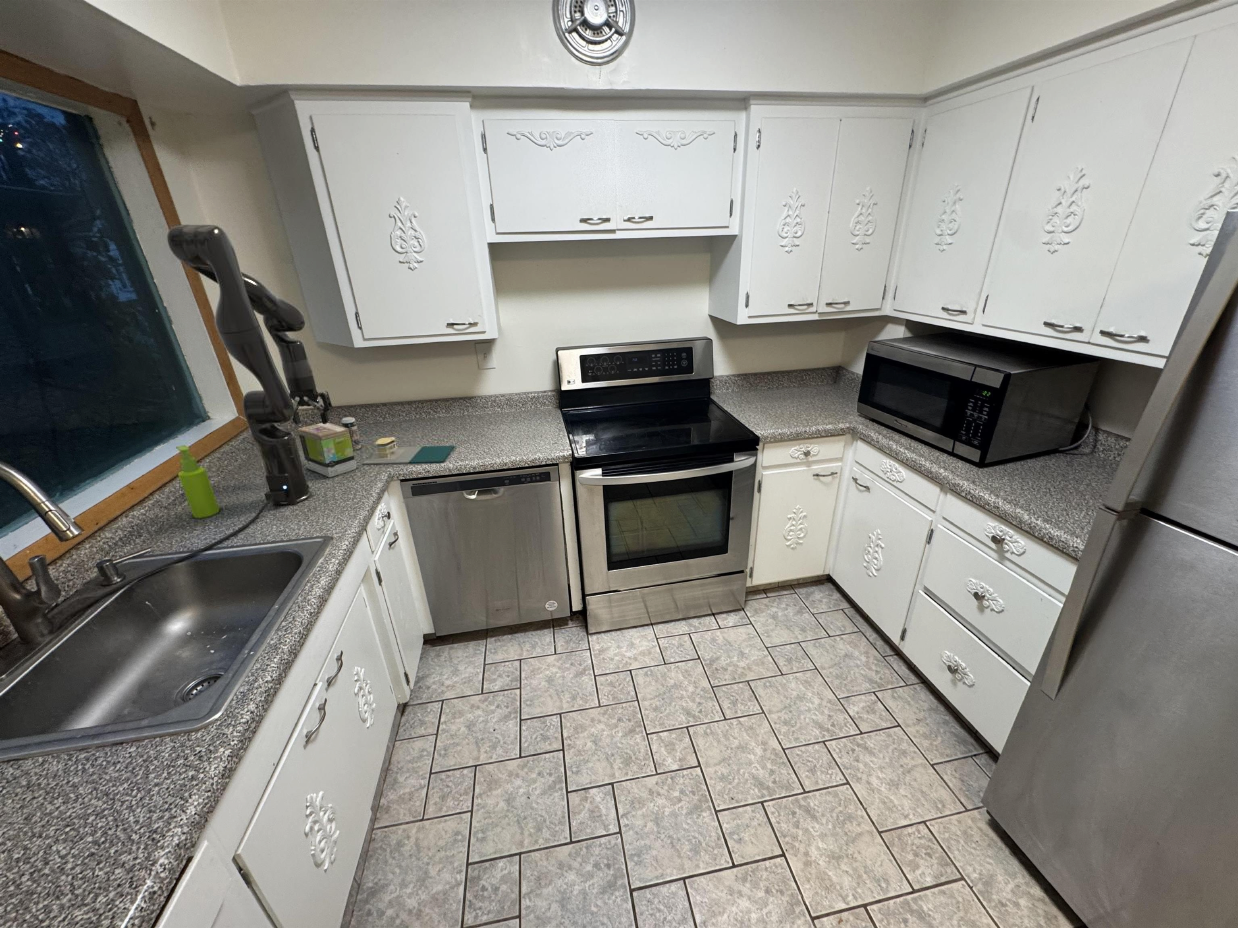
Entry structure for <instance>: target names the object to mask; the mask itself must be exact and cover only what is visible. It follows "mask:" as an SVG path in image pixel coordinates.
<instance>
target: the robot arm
mask: <svg viewBox="0 0 1238 928" xmlns="http://www.w3.org/2000/svg"><path fill="white" fill-rule="evenodd" d="M166 235H167V236H166V240H167V245H168V248H169V250H170V252H171V253H172V255H174V257H175V258H176V259H177V260H178V261H180V262H181V263H183V264H184V265H185V266H187V267H189V268H190V269H192V270H194V271H196V272H197V273H199V274H201V275H202V276H204V277H206V278H207V279H209V280H210V281H213V282H214V283H215V284H217V285H218V289H219V295H218V300H217V306H216V308H215V312H214V313H215V314H214V326H215V329H216V331H217V333H218V336H219V338H220V341H221V343H222V345H223V347H224V349H225V350H226V352H227V353H228V354H229V356H231V357H232V358H233V359H234V360H236V361H237V362H238V363H239V364H240V365H241V366H243V367H244V368H245V370H247V371H248V372H249V373H250V374H252V375H253V376H254V377H255V379H256V380H257V381H258V382H259V384H260V386H261V389H262V390H261V389H260V390H250V391H247V392H246V393H245V394H244V396H243V398H242V410H243V413H244V414H243V415H244V417H245V420H246V423H247V425H248V426H247V427H248V428H249V431H250V434H251V436H252V439H253V440H254V442H255V443H256V444H257V447H258V451H259V453H260V457H261V461H262V463H263V467H264V471H265V474H266V475H265V476H264V477H265V481H266V483H267V487H268V490H267V491H266V492H265V493H263V495H264V497H265V501H266V502H265V504H263V506H262V507H261V508H260V509H259V510H258V512H257V513H256V514H255V515H254V516H253V518H251V519H250V520H249V521H248V522H246V523H245V524H244V525H242V526H240V527H239V528H237V529H236V530H234V531H232V532H231V533H229V534H227V535H226V536H224V537H222V538H220V539H218V540H215V541H214V542H212V543H210V544H208V545H206V546H204V547H202V548H199V549H198V550H194V551H193V552H190V553H188V554H186V555H184V556H181V557H179V558H176V559H173V560H171V561H170V562H168V563H165V564H162V565H160V566H158V567H156V568H154V569H151V570H149V571H146V572H144V573H142V574H140V575H138V576H135V577H133V578H131V579H128V580H127V581H125V582H123V583H120V584H119V585H117V586H115V587H112V588H111V589H109V590H107V591H105V592H103V593H101V594H99V595H98V596H96V597H94V598H92V599H91V600H89V601H87V602H86V603H84V604H82V605H80V606H79V607H76V608H75V609H73V610H70V611H69V612H67V613H65V614H64V615H62V616H61V617H60V618H59V619H58V620H57V622H56V624H54V626H53V628H52V631H51V633H56V632H58V631H59V628H60V627H61V626H62V624H63V623H64V622H65V620H67V619H68V618H69V617H71V616H72V615H75V614H76V613H78V612H80V611H82V610H83V609H84V610H85V609H86V608H87V607H90V605H92V604H94V603H96V602H98V601H99V600H101V599H103V598H105V597H106V596H108V595H110V594H112V593H114V592H117V591H118V590H119V589H122V588H123V587H126V586H128V585H130V584H132V583H134V582H136V581H139V580H141V579H142V578H145V577H147V576H149V575H151V574H153V573H156V572H159V571H161V570H164V569H165V568H167V567H169V566H171V565H172V566H173V565H174V564H177V563H178V562H181V561H184V560H185V559H188V558H190V557H193V556H195V555H197V554H199V553H202V552H204V551H206V550H209V549H210V548H212V547H214V546H217V545H218V544H220V543H222V542H224V541H225V540H228V539H229V538H231V537H233V536H234V535H236V534H238V533H240V532H241V531H242V530H244V529H245V528H247V527H248V526H250V525H251V524H252V523H254V522H255V521H256V520H257V519H258V518H259V517H260V515H261V514H262V513H263V512H264V510H265V509H266V508H267V507H268V505H270V504H271V503H272V504H273V505H274V506H281V505H284V506H285V505H296V504H297V503H300V502H302V501H304V500H306V499H308V498H310V496H311V491H310V490H311V488H310V485H309V483H308V481H307V478H306V474H305V470H304V466H303V462H302V459H301V455H300V450H299V448H298V444H297V440H296V437H295V434H294V433H293V432H292V431H290V430H287V429H284V428H282V427H280V426H278V425H277V424H283V423H289V422H290V421H292V422H293V423H294V424H295V425H297V426H298V425H300V424H301V423H302V421H301V420H302V419H301V417H300V413H299V411H298V410H299V409H300V407H301V408H303V407H312V408H314V409H316V410H317V411H318V412H319V416H320V420H321V423H322V424H326V423H329V421H330V418H329V415H328V412H330V411H331V410H332V409H333V404H332V401H331V398H330V395H329V391H327V390H325V391H322V392H321V391H320V392H318V390H317V384H316V380H315V377H314V373H313V369H312V365H311V363H310V361H309V357H308V352H307V349H306V346H305V343H304V341H303V340H301V339H299V338H298V339H297V338H293V337H291V336H290V335H289V334H288V333H297V332H300V331H302V330H304V329H305V326H306V318H305V316H304V313H303V312H302V311H301V310H300V309H299V308H297V306H295V305H293V304H292V303H291V302H288V301H287V300H285V299H283V298H281V297H279V296H277V295H276V294H275V293H274V292H272V290H271V289H269V287H267V286H266V285H265V284H264V283H262V282H261V281H259V280H258V278H257V279H256V278H255V277H253V276H251V275H249V274H248V273H245V272H243V271H242V270H241V266H240V264H239V259H238V256H237V252H236V250H235V247H234V244H233V242H232V240H231V238H230V237H229V234H228V233H227V232H226V231H225V230H224V228H222V227H220V226H219V225H215V224H179V225H174V226H172V227H170V229H168V232H167V234H166ZM256 313H257V314H258V315H260V316H262V322H263V326H264V327H265V329H266V331H267V332H268V334H269V335H270V337H271V339H272V341H273V342H274V344H275V345H276V348H277V350H278V353H279V357H280V360H281V366H282V372H283V375H284V378H285V383H286V385H285V383H284V380H283V378H282V377H281V375H280V372H279V371H278V368H277V366H276V363H275V362H274V359H273V357H272V354H271V351H270V349H269V346H268V343H267V340H266V337H265V335H264V332H263V330H262V329H263V328H262V326H261V325H260V322H259V319H258V317H257V315H256Z"/></svg>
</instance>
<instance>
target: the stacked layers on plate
mask: <svg viewBox="0 0 1238 928" xmlns="http://www.w3.org/2000/svg"><path fill="white" fill-rule="evenodd" d="M397 442H398V441H397V440H396V437H394V436H391V437H381V438H379V439H377V441H376V442H375V443H374V444H375V445H376V446H375V449H376V451H377V450H378V451H377V454H376V455H375V456H374V457H372V458H371V459H370V460H382V459H396V458H397V457H398V456H399V455H400V454H401V453H402V452H403V451H404V450H395V449H396V448H398V447H399V446H397Z"/></svg>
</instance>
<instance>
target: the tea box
mask: <svg viewBox="0 0 1238 928" xmlns="http://www.w3.org/2000/svg"><path fill="white" fill-rule="evenodd" d="M297 432H298V437H299V441H300V444H301V445H300V446H301V448H302V452H303V457H304V460H305V464H306V468H307V469H309V470H311V471H313V472H315V473H318V474H320V475H323V476H326V477H328V478H332V477H335V476H339V475H343V474H345V473H348V472H351V471H353V470H357V463H356V458H355V454H354V450H353V448H352V443H351V439H350V434H349V430H348V428H344V427H343V426H342V425H341V426H340V425H337V424H333V423H330V422H328V423H326V424H322V422H321V423H316V424H313V425H307V426H304V427H300V428H297Z"/></svg>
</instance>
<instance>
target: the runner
mask: <svg viewBox="0 0 1238 928" xmlns="http://www.w3.org/2000/svg"><path fill="white" fill-rule="evenodd" d="M397 447H398V448H396V449H395V450H404V451H403V452H402V453H401V454H400V455H399V456H398V457H397V458H396V459H382V460H370V459H371V458H372V457H374V456H375V455H376V454H377V451H378V450H377V449H376V450H375V451H374V452H373V453H372V454H370V456H369V457H367V458H366V459H365V460H364V461H363V462H362V463H361V464H362V465H363V466H367V465H368V466H370V465H399V464H400V465H404V464H406V465H407V464H408V465H409V464H442V463H445V461H446V459H447V458H448V457H449V455H450V454H451V453H452V451H453V450H454V448H455V445H427V446H426V445H424V446H423V445H422V446H421V445H420V446H397Z"/></svg>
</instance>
